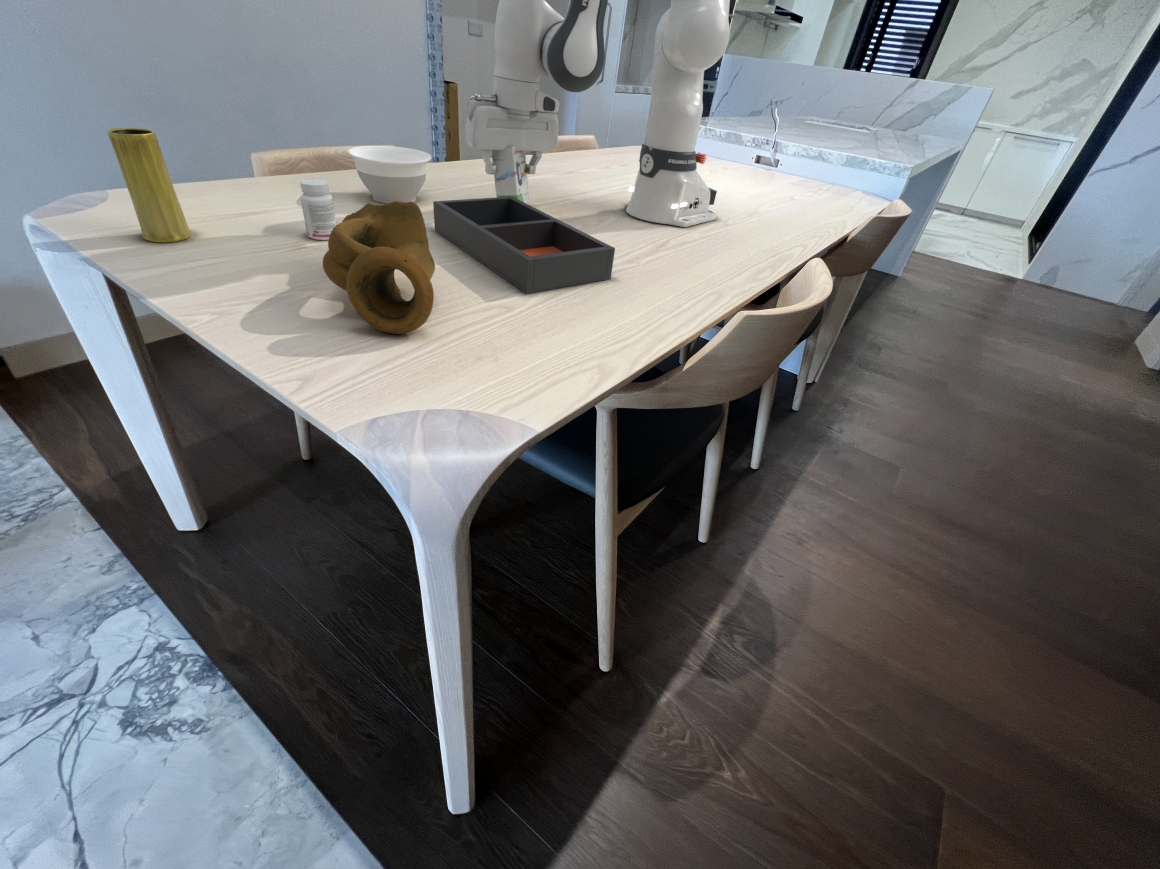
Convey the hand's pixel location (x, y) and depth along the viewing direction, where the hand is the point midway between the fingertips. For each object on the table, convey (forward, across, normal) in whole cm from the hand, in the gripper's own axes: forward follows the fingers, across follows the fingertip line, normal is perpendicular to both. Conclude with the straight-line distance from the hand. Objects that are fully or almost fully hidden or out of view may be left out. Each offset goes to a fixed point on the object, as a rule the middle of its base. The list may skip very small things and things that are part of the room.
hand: (511, 173), depth 111 cm
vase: (+9, -62, -1) cm, 62 cm away
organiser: (+7, -14, -26) cm, 30 cm away
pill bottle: (+8, -41, -7) cm, 42 cm away
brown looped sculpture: (+8, -41, -34) cm, 54 cm away
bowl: (+8, -20, +12) cm, 25 cm away
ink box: (+6, +1, 0) cm, 7 cm away
